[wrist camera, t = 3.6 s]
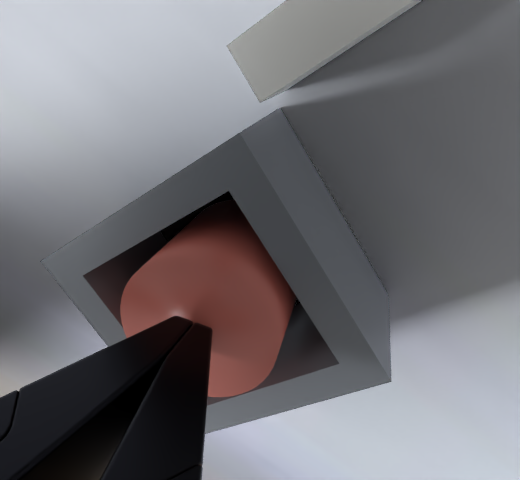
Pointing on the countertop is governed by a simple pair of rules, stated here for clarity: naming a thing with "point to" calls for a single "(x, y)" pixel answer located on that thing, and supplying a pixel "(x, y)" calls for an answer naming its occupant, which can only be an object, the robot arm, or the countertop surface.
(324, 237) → the plunger block
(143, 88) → the countertop surface
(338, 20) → the white u-shaped frame
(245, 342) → the plunger
